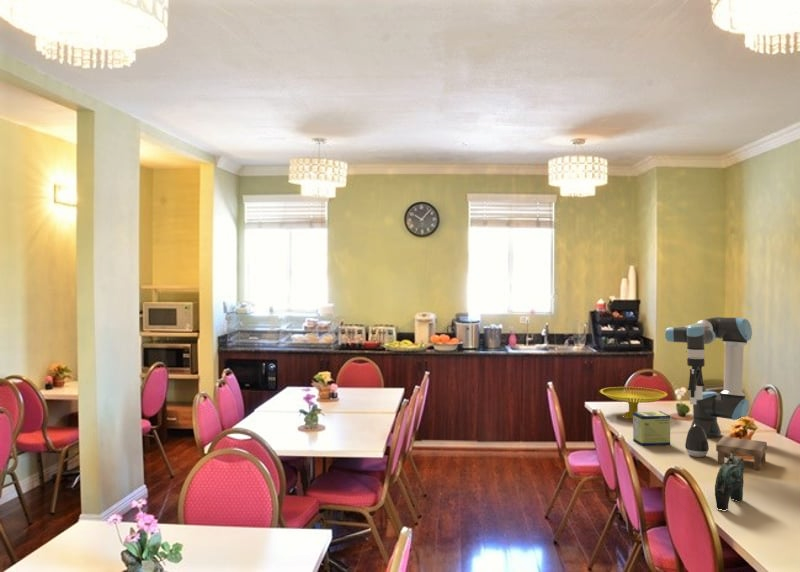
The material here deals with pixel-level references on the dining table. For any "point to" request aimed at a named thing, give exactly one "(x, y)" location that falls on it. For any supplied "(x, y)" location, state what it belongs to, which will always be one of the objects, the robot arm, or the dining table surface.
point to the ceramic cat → (729, 481)
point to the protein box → (651, 428)
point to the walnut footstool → (742, 449)
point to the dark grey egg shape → (696, 441)
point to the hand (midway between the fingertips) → (696, 401)
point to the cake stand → (633, 397)
